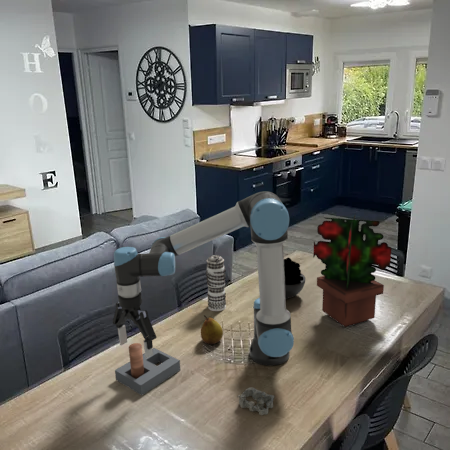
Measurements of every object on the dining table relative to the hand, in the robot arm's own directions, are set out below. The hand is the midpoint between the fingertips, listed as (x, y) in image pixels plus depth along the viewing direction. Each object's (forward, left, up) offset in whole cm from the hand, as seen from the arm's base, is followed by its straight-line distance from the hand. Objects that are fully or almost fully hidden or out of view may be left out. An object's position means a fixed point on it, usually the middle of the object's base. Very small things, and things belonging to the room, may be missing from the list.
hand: (136, 349), depth 156 cm
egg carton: (-40, -15, -13) cm, 45 cm away
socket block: (0, -5, -13) cm, 13 cm away
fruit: (-3, -36, -13) cm, 38 cm away
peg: (0, 0, -13) cm, 13 cm away
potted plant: (-38, -86, -13) cm, 94 cm away
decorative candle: (+15, -60, -13) cm, 63 cm away
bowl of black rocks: (-4, -88, -13) cm, 89 cm away
